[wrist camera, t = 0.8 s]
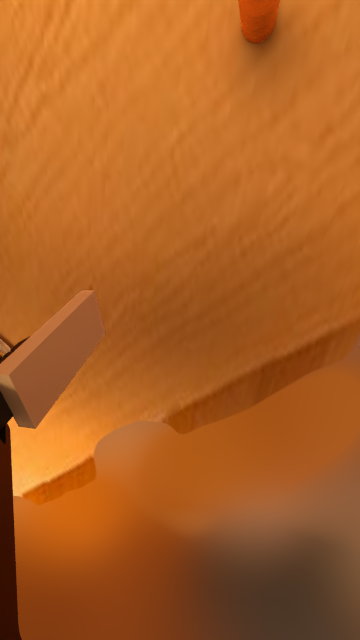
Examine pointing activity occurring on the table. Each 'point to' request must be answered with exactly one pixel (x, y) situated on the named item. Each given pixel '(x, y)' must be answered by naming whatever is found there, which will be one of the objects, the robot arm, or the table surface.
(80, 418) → the table surface
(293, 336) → the table surface
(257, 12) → the hinge pin
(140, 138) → the table surface
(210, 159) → the table surface
